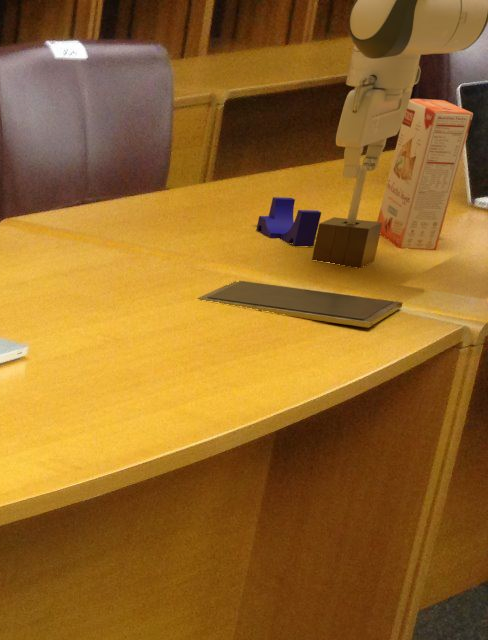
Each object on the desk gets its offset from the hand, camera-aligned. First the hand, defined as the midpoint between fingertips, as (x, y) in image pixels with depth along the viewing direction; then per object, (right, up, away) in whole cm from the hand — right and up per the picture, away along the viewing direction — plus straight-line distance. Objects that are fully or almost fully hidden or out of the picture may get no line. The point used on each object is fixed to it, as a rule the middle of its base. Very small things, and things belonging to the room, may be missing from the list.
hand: (359, 173), depth 225 cm
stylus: (0, -12, +6) cm, 13 cm away
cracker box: (+17, -4, +21) cm, 27 cm away
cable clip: (-2, -5, +19) cm, 20 cm away
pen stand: (0, -12, +6) cm, 13 cm away
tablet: (-18, -24, -19) cm, 36 cm away
